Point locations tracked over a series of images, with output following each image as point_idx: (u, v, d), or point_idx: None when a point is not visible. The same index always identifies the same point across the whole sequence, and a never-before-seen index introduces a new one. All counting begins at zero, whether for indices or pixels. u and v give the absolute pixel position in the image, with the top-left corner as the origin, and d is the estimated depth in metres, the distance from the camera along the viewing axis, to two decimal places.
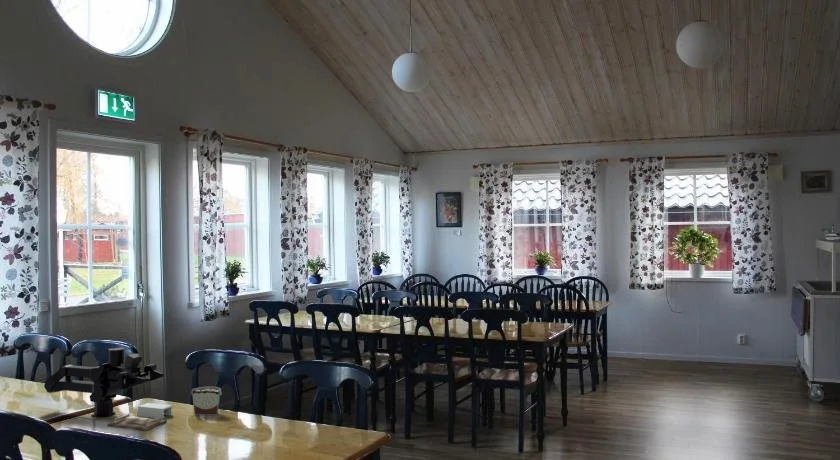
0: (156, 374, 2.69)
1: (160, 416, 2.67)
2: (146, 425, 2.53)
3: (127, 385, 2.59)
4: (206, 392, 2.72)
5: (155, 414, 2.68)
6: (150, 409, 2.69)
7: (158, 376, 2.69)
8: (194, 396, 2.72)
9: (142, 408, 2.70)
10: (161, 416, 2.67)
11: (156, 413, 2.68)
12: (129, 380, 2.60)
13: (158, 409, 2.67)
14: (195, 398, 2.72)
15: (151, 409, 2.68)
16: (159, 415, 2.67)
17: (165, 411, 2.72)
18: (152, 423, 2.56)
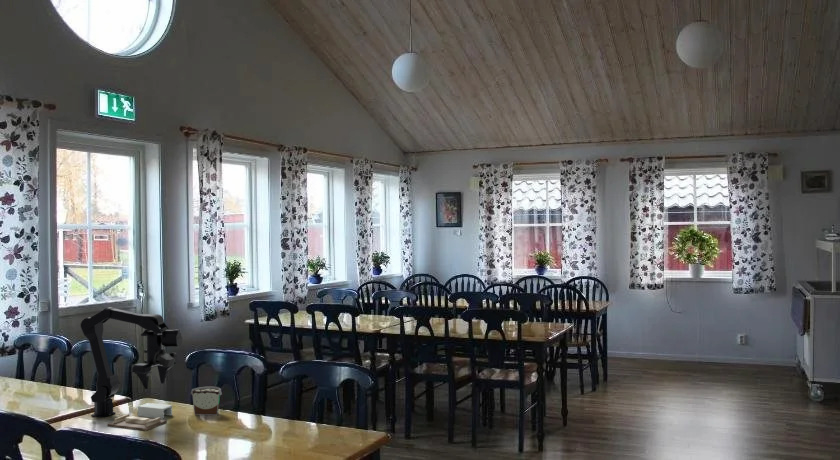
0: (162, 374, 2.75)
1: (160, 416, 2.67)
2: (146, 425, 2.53)
3: None
4: (206, 392, 2.72)
5: (155, 414, 2.68)
6: (150, 409, 2.69)
7: (161, 378, 2.75)
8: (194, 396, 2.72)
9: (142, 408, 2.70)
10: (161, 416, 2.67)
11: (156, 413, 2.68)
12: None
13: (158, 409, 2.67)
14: (195, 398, 2.72)
15: (151, 409, 2.68)
16: (159, 415, 2.67)
17: (165, 411, 2.72)
18: (152, 423, 2.56)
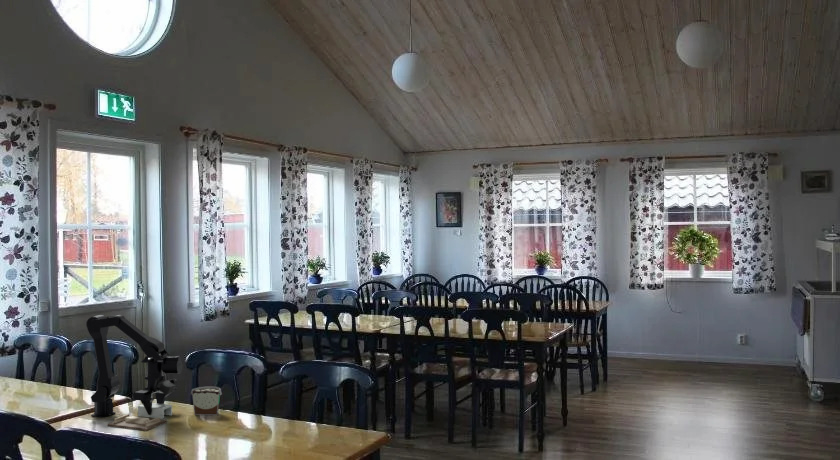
0: (160, 402, 2.74)
1: (160, 416, 2.67)
2: (146, 425, 2.53)
3: None
4: (206, 392, 2.72)
5: (155, 414, 2.68)
6: None
7: None
8: (194, 396, 2.72)
9: (142, 408, 2.70)
10: (161, 416, 2.67)
11: (156, 413, 2.68)
12: None
13: (158, 409, 2.67)
14: (195, 398, 2.72)
15: None
16: (159, 415, 2.67)
17: (165, 411, 2.72)
18: (152, 423, 2.56)
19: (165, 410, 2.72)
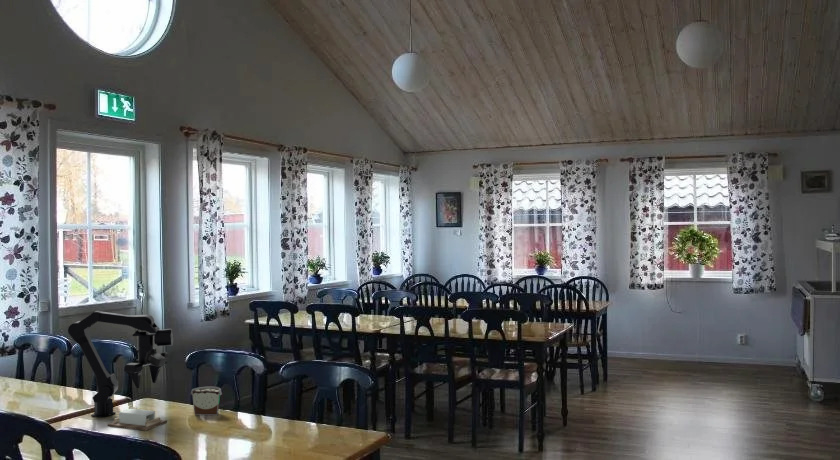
0: (154, 374, 2.79)
1: (142, 422, 2.55)
2: (146, 425, 2.53)
3: None
4: (206, 392, 2.72)
5: (137, 420, 2.56)
6: (132, 415, 2.57)
7: (152, 377, 2.79)
8: (194, 396, 2.72)
9: (124, 414, 2.58)
10: (143, 422, 2.55)
11: (138, 419, 2.56)
12: None
13: (140, 415, 2.55)
14: (195, 398, 2.72)
15: (133, 415, 2.56)
16: (141, 421, 2.55)
17: (148, 417, 2.60)
18: (152, 423, 2.56)
19: (148, 416, 2.60)
